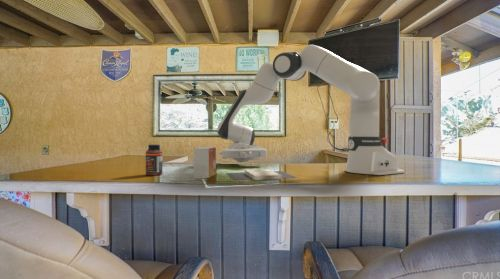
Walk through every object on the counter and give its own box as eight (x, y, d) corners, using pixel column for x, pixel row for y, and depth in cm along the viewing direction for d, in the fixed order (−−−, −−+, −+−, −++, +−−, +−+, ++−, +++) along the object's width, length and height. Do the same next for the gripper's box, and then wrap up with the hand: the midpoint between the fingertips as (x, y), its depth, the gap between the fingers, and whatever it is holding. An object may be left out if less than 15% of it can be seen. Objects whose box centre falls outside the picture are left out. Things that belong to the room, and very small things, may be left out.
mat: (281, 172, 111) (281, 171, 111) (297, 179, 95) (297, 177, 95) (225, 174, 105) (225, 173, 105) (233, 182, 90) (233, 180, 90)
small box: (208, 179, 95) (208, 148, 95) (193, 178, 96) (193, 148, 96) (216, 175, 103) (216, 147, 102) (201, 175, 104) (201, 146, 104)
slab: (268, 169, 105) (281, 175, 92) (268, 173, 105) (281, 179, 92) (245, 170, 103) (255, 176, 89) (245, 174, 103) (255, 180, 89)
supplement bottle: (142, 175, 103) (141, 144, 102) (152, 173, 108) (152, 144, 108) (156, 176, 101) (155, 145, 101) (165, 174, 107) (165, 144, 106)
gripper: (218, 146, 128) (223, 147, 115) (261, 145, 133) (270, 147, 120) (218, 159, 128) (223, 163, 115) (261, 158, 133) (270, 161, 120)
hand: (248, 154), depth 117 cm, fingers closed
